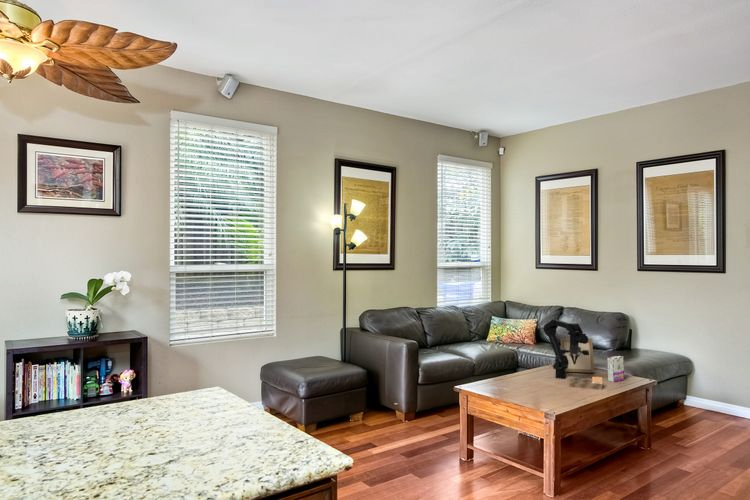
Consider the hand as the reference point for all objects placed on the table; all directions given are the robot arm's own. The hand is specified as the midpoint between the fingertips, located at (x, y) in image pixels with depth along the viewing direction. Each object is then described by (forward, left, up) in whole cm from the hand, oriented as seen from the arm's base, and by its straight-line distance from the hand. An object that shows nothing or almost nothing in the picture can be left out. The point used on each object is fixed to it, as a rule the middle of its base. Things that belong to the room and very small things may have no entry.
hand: (574, 364), depth 346 cm
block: (+14, -10, -11) cm, 21 cm away
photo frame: (0, +35, -12) cm, 37 cm away
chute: (+7, -10, -12) cm, 17 cm away
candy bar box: (+26, +14, -12) cm, 32 cm away
